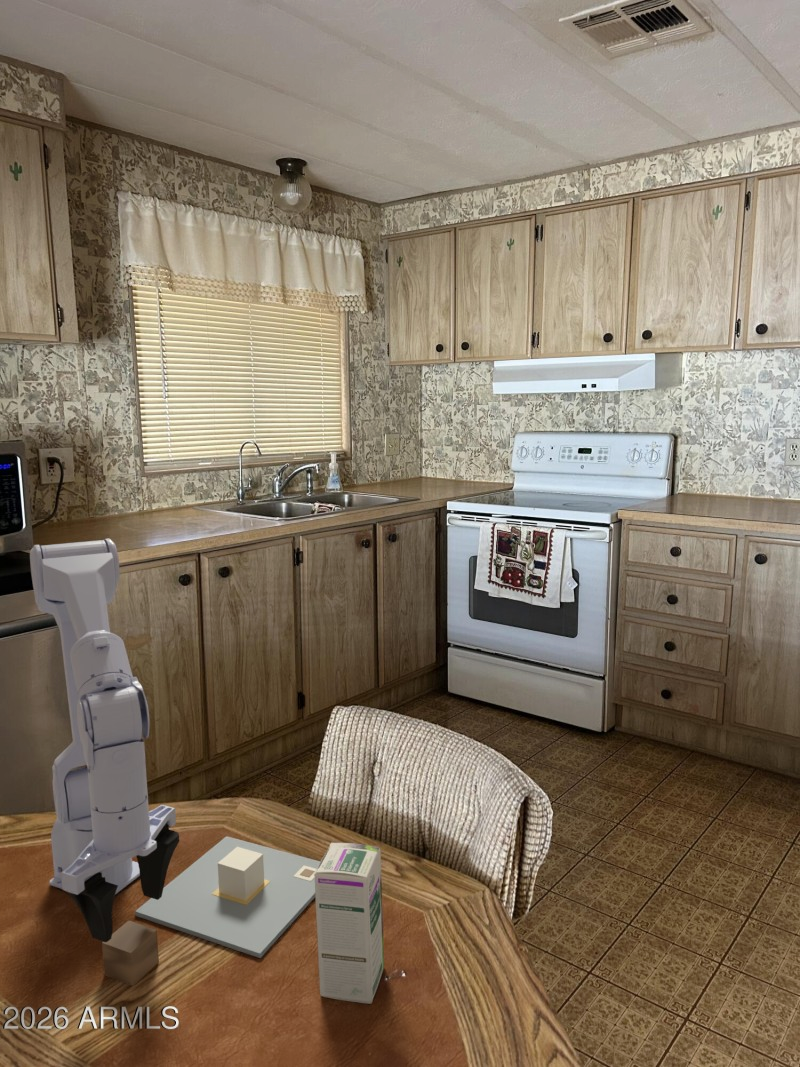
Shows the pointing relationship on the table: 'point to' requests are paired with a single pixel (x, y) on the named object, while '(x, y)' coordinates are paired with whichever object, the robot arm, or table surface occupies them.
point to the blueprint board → (236, 900)
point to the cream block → (241, 873)
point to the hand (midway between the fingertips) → (128, 916)
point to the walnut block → (130, 952)
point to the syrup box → (349, 922)
